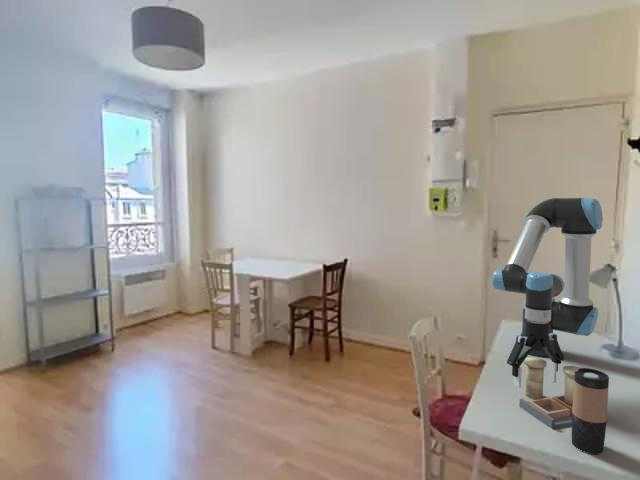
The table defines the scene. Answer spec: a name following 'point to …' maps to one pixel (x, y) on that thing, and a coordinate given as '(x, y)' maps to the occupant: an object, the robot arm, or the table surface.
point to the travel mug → (589, 410)
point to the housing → (554, 404)
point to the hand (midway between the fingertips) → (534, 383)
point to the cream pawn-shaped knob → (534, 377)
